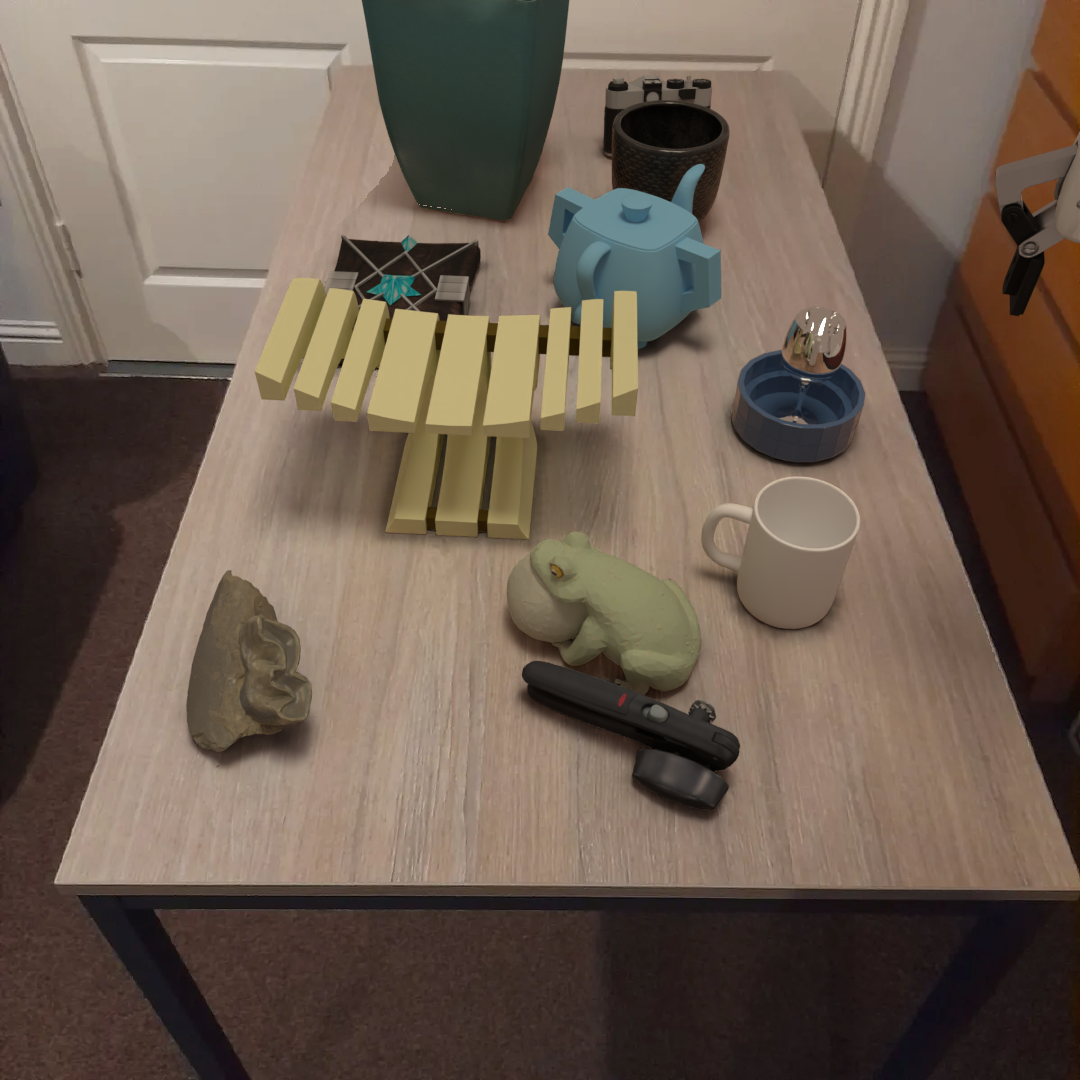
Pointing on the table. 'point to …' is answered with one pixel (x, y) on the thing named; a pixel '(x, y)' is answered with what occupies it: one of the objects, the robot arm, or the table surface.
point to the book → (408, 274)
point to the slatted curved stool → (450, 392)
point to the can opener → (645, 732)
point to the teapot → (635, 255)
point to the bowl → (775, 388)
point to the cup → (789, 549)
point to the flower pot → (467, 95)
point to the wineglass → (812, 355)
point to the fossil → (244, 670)
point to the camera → (650, 97)
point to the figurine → (605, 612)
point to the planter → (669, 150)
